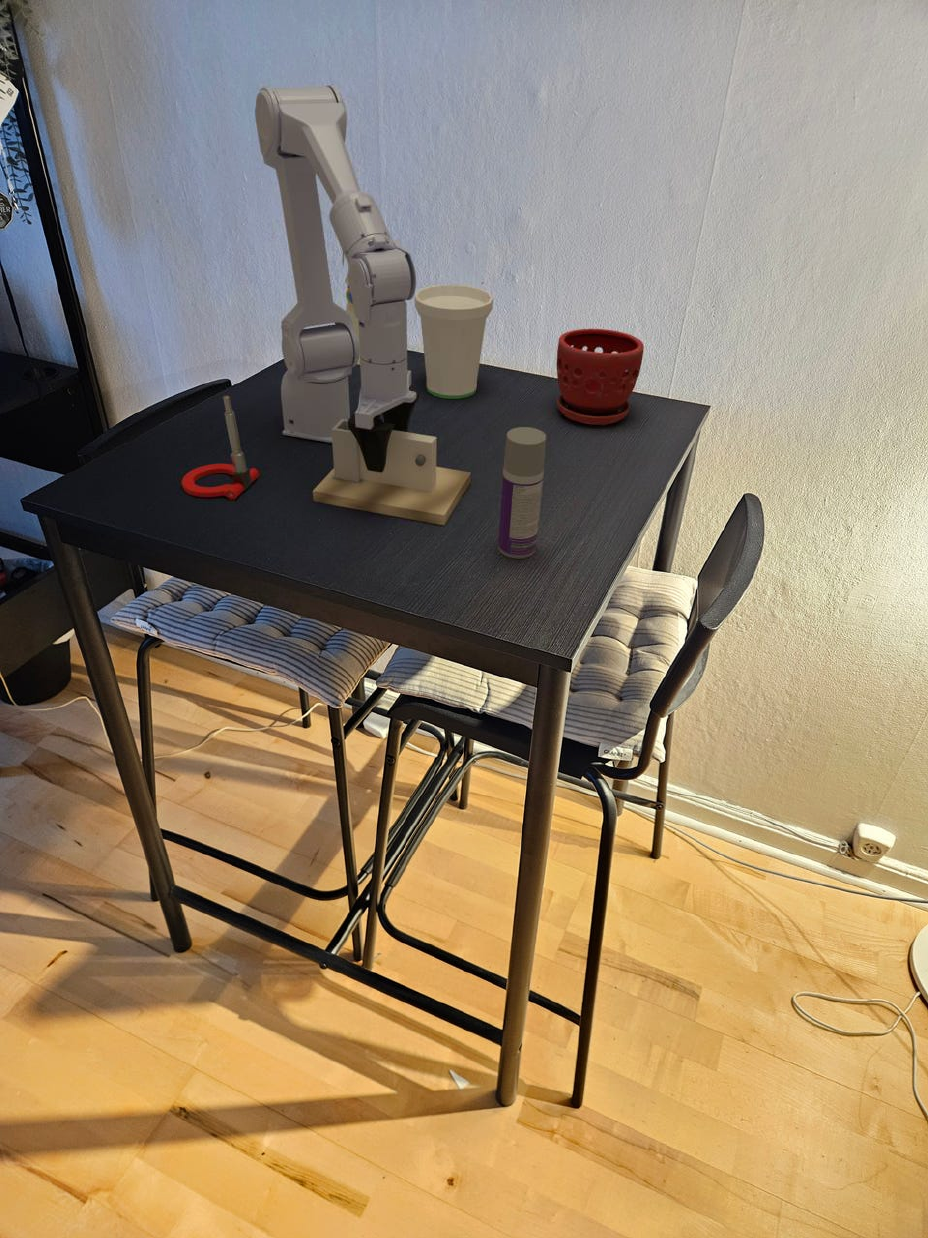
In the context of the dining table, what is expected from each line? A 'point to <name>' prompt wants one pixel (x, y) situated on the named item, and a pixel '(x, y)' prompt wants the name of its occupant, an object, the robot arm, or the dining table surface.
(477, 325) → the cup
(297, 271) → the robot arm
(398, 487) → the base board
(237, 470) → the tow hook
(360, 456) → the door
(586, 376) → the plant pot
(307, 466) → the dining table surface
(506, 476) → the container
